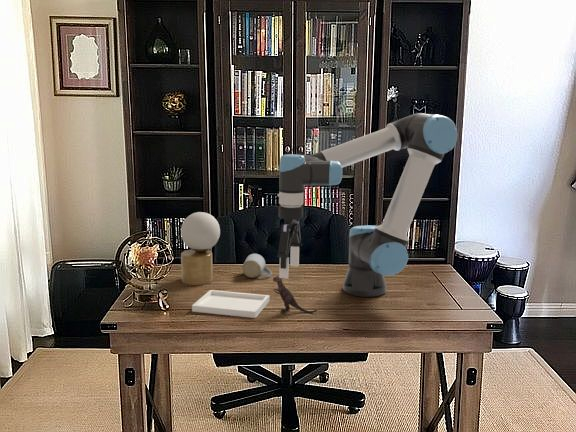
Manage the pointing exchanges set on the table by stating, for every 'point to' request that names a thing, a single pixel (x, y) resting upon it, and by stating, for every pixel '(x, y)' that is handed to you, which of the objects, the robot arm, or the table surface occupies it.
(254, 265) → the ceramic mug
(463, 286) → the table surface
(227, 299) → the tray
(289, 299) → the dinosaur model
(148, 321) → the table surface
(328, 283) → the table surface
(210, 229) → the lamp
